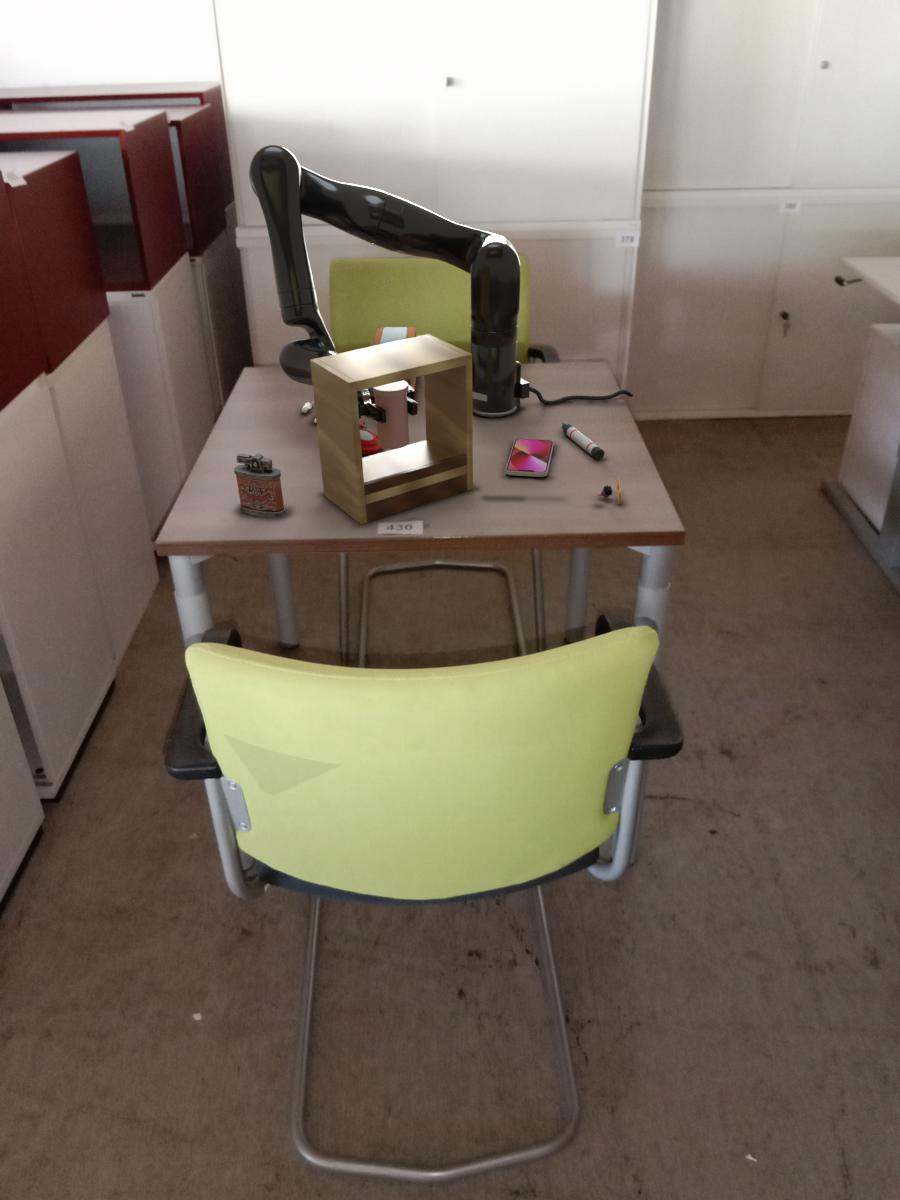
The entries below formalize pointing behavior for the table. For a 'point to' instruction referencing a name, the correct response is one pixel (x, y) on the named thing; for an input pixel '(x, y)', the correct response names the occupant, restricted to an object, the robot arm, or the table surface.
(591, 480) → the table surface
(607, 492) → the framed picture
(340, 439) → the shelf
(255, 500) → the lighter
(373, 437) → the tracker holder
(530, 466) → the smartphone
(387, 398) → the lidded canister
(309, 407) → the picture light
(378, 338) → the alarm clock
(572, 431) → the marker
